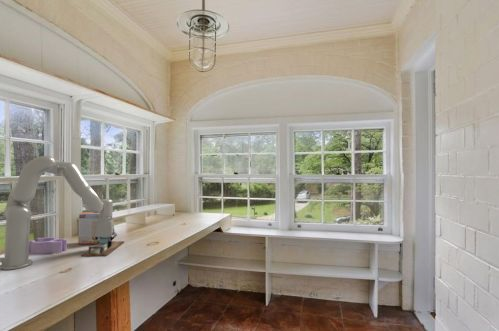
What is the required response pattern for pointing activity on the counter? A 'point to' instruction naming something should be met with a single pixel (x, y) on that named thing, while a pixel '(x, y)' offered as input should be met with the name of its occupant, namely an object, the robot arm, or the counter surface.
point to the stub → (104, 240)
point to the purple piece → (47, 245)
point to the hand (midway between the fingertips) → (104, 246)
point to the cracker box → (87, 227)
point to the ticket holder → (102, 249)
